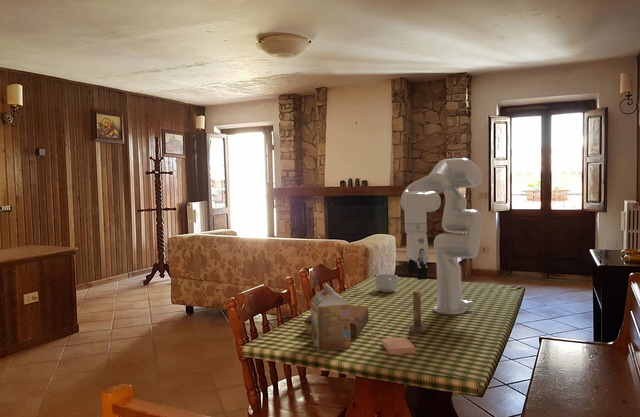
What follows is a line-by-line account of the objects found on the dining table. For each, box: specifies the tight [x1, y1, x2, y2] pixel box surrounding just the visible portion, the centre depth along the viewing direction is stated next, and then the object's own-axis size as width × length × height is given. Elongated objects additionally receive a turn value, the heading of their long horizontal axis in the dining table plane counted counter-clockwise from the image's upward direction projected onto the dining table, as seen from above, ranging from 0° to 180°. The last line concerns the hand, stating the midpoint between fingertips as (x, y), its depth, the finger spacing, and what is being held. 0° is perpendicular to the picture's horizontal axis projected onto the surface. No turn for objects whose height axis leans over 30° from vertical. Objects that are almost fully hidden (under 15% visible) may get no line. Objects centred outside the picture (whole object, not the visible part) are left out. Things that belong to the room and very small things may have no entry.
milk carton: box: [310, 283, 352, 352], centre depth 153 cm, size 11×11×19 cm
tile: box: [381, 336, 416, 356], centre depth 148 cm, size 8×2×10 cm
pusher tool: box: [408, 290, 427, 335], centre depth 164 cm, size 6×6×14 cm
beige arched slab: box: [303, 305, 370, 339], centre depth 172 cm, size 23×19×6 cm
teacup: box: [375, 273, 399, 293], centre depth 228 cm, size 14×11×8 cm
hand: (417, 276), depth 164 cm, fingers open, 9 cm apart
